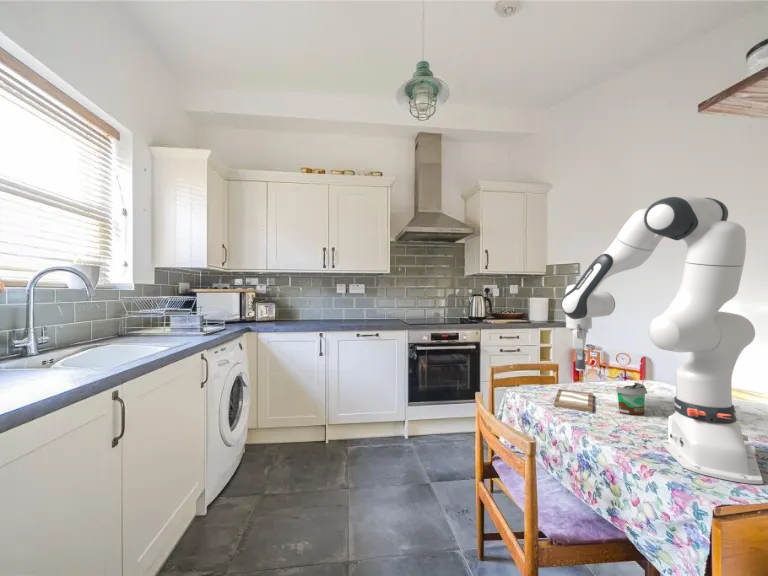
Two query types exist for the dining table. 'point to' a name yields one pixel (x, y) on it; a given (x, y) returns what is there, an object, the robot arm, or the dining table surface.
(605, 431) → the dining table surface
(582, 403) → the writing board
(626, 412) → the food container
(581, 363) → the marker
